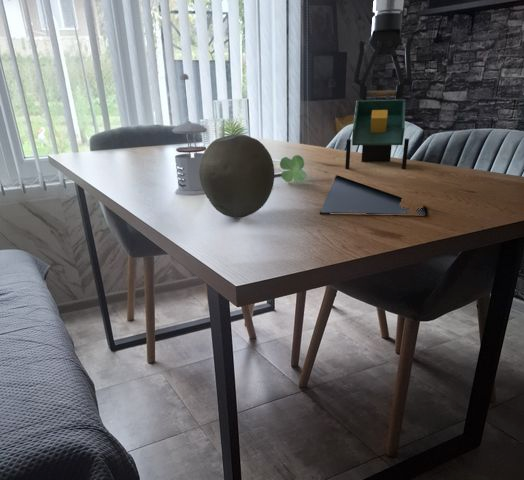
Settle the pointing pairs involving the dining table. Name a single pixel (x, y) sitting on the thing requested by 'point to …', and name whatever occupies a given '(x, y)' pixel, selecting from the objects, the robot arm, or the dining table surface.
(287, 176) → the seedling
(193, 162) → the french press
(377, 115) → the block
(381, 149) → the stand
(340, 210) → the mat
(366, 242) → the dining table surface
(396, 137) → the green shallow box
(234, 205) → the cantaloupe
